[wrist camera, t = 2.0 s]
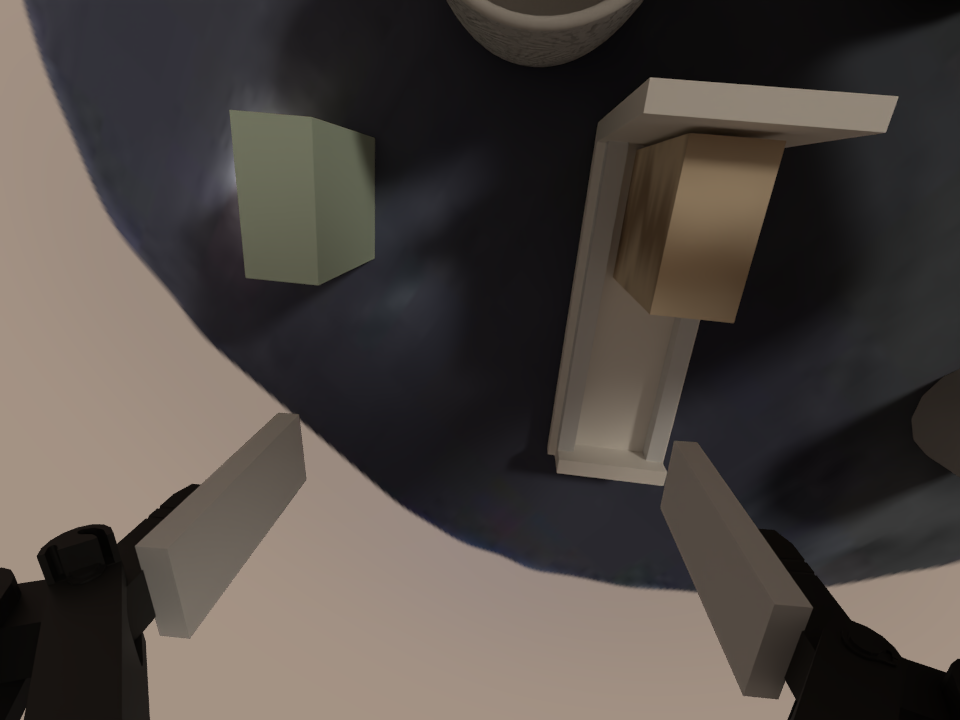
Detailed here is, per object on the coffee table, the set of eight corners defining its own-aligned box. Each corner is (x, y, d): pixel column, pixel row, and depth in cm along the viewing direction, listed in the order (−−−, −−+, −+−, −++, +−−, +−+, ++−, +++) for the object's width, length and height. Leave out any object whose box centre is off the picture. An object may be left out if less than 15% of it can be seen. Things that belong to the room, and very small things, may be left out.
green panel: (317, 133, 31) (229, 109, 22) (374, 138, 31) (311, 116, 22) (321, 253, 34) (245, 277, 25) (374, 258, 34) (318, 285, 25)
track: (597, 122, 30) (650, 77, 17) (742, 134, 29) (898, 96, 17) (547, 447, 38) (558, 569, 26) (658, 460, 38) (722, 591, 25)
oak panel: (636, 150, 29) (690, 132, 20) (701, 155, 29) (786, 140, 20) (612, 277, 32) (649, 314, 23) (671, 283, 32) (734, 323, 22)
